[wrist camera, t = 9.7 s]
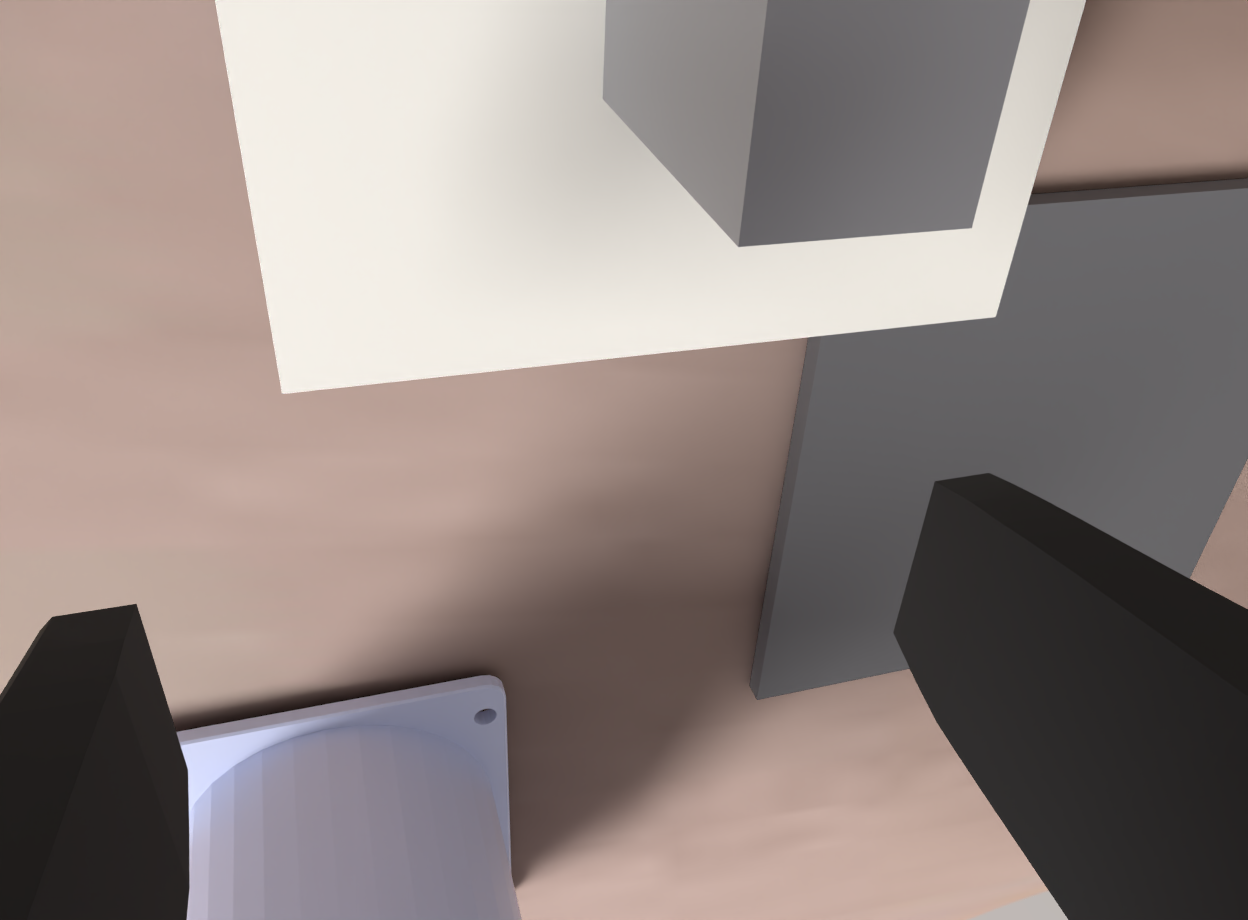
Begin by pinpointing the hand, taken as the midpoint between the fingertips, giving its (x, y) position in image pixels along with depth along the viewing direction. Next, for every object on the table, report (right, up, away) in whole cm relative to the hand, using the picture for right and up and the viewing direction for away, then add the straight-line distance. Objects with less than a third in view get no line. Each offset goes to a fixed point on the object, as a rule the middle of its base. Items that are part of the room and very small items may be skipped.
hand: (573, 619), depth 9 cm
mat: (+10, +2, +15) cm, 19 cm away
